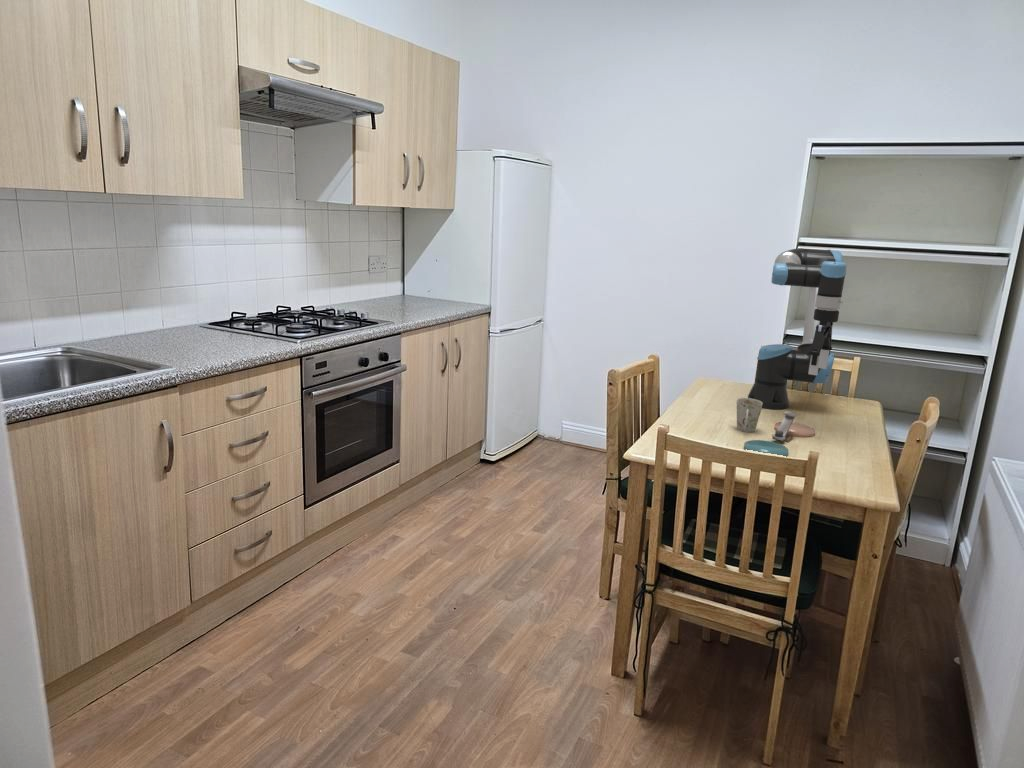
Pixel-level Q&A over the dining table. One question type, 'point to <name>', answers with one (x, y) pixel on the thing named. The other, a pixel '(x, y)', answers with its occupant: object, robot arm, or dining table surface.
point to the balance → (785, 427)
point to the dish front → (766, 447)
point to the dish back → (798, 430)
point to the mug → (748, 414)
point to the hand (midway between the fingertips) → (817, 371)
